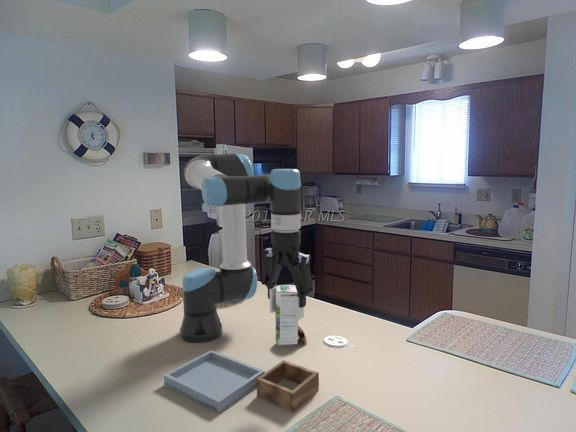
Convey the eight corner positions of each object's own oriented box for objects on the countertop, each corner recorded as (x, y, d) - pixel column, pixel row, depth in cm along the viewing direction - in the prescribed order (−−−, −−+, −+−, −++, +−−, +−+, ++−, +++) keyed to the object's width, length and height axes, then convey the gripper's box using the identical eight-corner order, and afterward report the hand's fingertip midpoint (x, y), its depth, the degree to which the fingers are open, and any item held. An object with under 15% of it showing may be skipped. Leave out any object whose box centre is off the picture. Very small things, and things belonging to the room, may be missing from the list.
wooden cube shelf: (257, 396, 108) (256, 378, 107) (283, 376, 117) (283, 360, 117) (293, 412, 101) (293, 393, 100) (318, 389, 110) (318, 372, 110)
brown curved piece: (308, 350, 134) (297, 332, 131) (284, 360, 136) (272, 343, 133) (308, 327, 145) (297, 310, 142) (285, 336, 147) (274, 320, 144)
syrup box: (275, 335, 110) (274, 284, 108) (296, 334, 110) (296, 284, 108) (276, 345, 104) (275, 292, 102) (298, 344, 105) (298, 291, 102)
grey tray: (164, 385, 114) (163, 375, 113) (211, 359, 128) (211, 350, 127) (219, 413, 101) (218, 402, 100) (264, 380, 115) (264, 371, 115)
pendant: (329, 336, 144) (329, 333, 144) (358, 343, 138) (358, 341, 138) (320, 343, 138) (320, 341, 138) (349, 352, 132) (349, 349, 132)
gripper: (245, 227, 105) (247, 310, 109) (311, 237, 94) (311, 329, 97) (264, 223, 111) (265, 302, 115) (328, 231, 99) (327, 319, 103)
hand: (286, 314), depth 106 cm, fingers closed on syrup box, 8 cm apart
